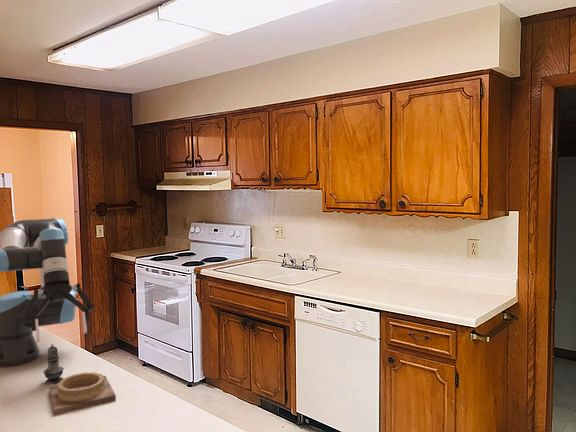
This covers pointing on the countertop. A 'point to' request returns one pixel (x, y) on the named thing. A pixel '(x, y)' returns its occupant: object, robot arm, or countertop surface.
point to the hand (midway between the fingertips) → (62, 336)
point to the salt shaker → (53, 367)
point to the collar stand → (80, 392)
